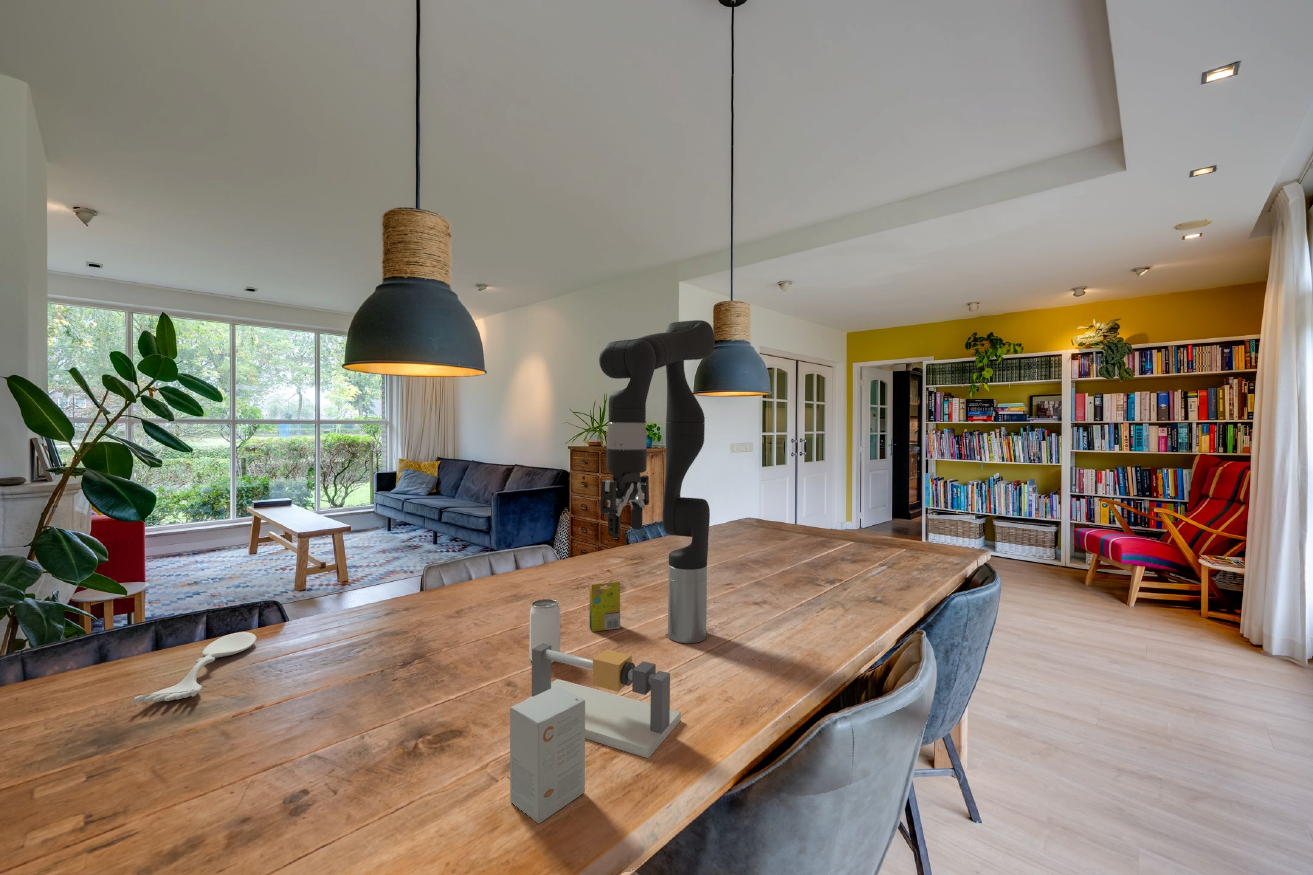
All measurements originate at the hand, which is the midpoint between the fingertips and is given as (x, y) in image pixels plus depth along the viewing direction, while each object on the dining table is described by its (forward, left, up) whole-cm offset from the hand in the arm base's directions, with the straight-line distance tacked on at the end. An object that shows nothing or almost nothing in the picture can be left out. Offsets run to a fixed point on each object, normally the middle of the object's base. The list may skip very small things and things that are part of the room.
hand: (625, 532), depth 103 cm
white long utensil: (+33, -78, -31) cm, 90 cm away
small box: (+31, +6, -30) cm, 44 cm away
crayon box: (-25, -20, -30) cm, 44 cm away
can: (-4, -22, -30) cm, 38 cm away
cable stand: (+11, +1, -30) cm, 32 cm away
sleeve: (+11, +4, -23) cm, 26 cm away
